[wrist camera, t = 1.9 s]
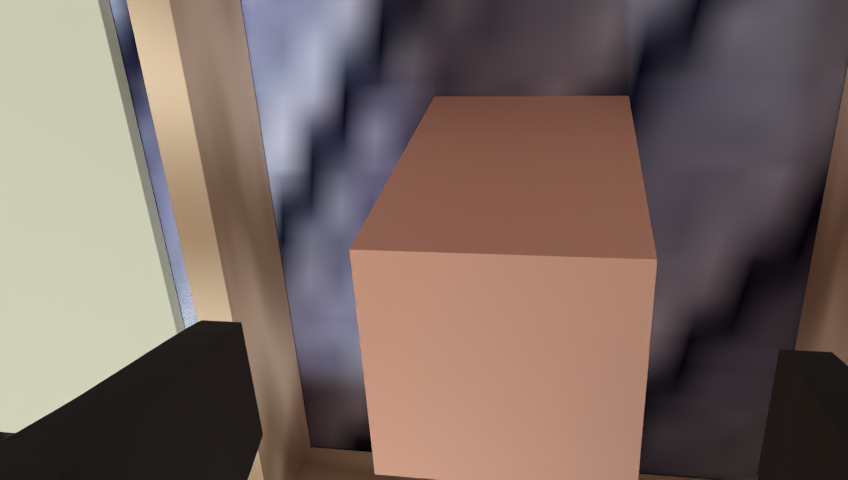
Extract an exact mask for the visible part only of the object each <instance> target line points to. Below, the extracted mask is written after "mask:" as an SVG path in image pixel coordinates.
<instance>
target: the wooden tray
mask: <svg viewBox="0 0 848 480" xmlns="http://www.w3.org/2000/svg"><path fill="white" fill-rule="evenodd" d="M127 5H128V9H129V14H130V18H131V23H132V27H133V32H134V36H135V41H136V45H137V50H138V54H139V59H140V63H141V68H142V72H143V77H144V82H145V86H146V91H147V95H148V100H149V104H150V109H151V113H152V118H153V122H154V127H155V131H156V136H157V140H158V145H159V149H160V154H161V158H162V163H163V167H164V172H165V176H166V181H167V185H168V190H169V194H170V199H171V203H172V208H173V213H174V217H175V222H176V226H177V231H178V235H179V240H180V244H181V249H182V253H183V258H184V262H185V267H186V271H187V276H188V280H189V285H190V289H191V294H192V298H193V303H194V307H195V312H196V316H197V321H198V322H199V321H201V320H207V321H227V322H241V323H242V328H243V333H244V338H245V344H246V349H247V354H248V359H249V364H250V369H251V374H252V380H253V385H254V390H255V395H256V400H257V405H258V411H259V416H260V421H261V426H262V431H263V436H262V439H261V442H260V445H259V448H258V451H257V454H256V457H255V460H254V463H253V466H252V469H251V472H250V474H249V477H248V480H436V479H424V478H412V477H401V476H389V475H377V474H375V472H374V463H373V454H372V452H364V451H352V450H339V449H327V448H315V447H311V445H310V438H309V432H308V426H307V419H306V413H305V407H304V400H303V394H302V388H301V381H300V375H299V369H298V362H297V356H296V350H295V343H294V337H293V331H292V324H291V318H290V312H289V305H288V299H287V293H286V286H285V280H284V274H283V267H282V261H281V255H280V248H279V242H278V236H277V229H276V223H275V217H274V210H273V204H272V198H271V191H270V185H269V179H268V172H267V166H266V160H265V153H264V147H263V141H262V135H261V128H260V122H259V116H258V109H257V103H256V97H255V90H254V84H253V78H252V71H251V65H250V59H249V52H248V46H247V40H246V33H245V27H244V21H243V14H242V8H241V2H240V0H127ZM795 350H800V351H820V352H832V353H834V354H835V355H836V356H837V357H838V358H839V359H841V360H842V361H843V362H844V363H845V364H846V365H847V366H848V67H847V73H846V78H845V83H844V89H843V94H842V99H841V105H840V110H839V115H838V121H837V126H836V131H835V137H834V142H833V147H832V153H831V158H830V163H829V169H828V174H827V179H826V185H825V190H824V195H823V201H822V206H821V211H820V217H819V222H818V227H817V233H816V238H815V243H814V249H813V254H812V259H811V265H810V270H809V275H808V281H807V286H806V291H805V297H804V302H803V307H802V313H801V318H800V323H799V329H798V334H797V340H796V345H795ZM638 480H711V479H698V478H686V477H674V476H661V475H649V474H639V477H638Z"/></svg>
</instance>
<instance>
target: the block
mask: <svg viewBox="0 0 848 480" xmlns="http://www.w3.org/2000/svg"><path fill="white" fill-rule="evenodd" d="M349 251H350V259H351V268H352V277H353V286H354V295H355V304H356V313H357V321H358V330H359V339H360V348H361V357H362V366H363V375H364V384H365V392H366V401H367V410H368V419H369V428H370V437H371V446H372V454H373V463H374V472H375V474H377V475H389V476H401V477H412V478H424V479H436V480H638V477H639V465H640V454H641V442H642V431H643V419H644V407H645V396H646V384H647V373H648V361H649V350H650V338H651V327H652V315H653V304H654V292H655V281H656V269H657V255H656V249H655V243H654V238H653V232H652V226H651V220H650V215H649V209H648V203H647V198H646V192H645V186H644V180H643V175H642V169H641V163H640V157H639V152H638V146H637V140H636V135H635V129H634V123H633V117H632V112H631V106H630V100H629V96H434V98H433V100H432V102H431V104H430V105H429V107H428V109H427V111H426V113H425V114H424V116H423V118H422V120H421V122H420V123H419V125H418V127H417V129H416V131H415V132H414V134H413V136H412V138H411V140H410V141H409V143H408V145H407V147H406V149H405V150H404V152H403V154H402V156H401V158H400V159H399V161H398V163H397V165H396V167H395V168H394V170H393V172H392V174H391V176H390V177H389V179H388V181H387V183H386V185H385V186H384V188H383V190H382V192H381V194H380V195H379V197H378V199H377V201H376V203H375V204H374V206H373V208H372V210H371V212H370V213H369V215H368V217H367V219H366V221H365V222H364V224H363V226H362V228H361V230H360V231H359V233H358V235H357V237H356V239H355V240H354V242H353V244H352V246H351V248H350V249H349Z"/></svg>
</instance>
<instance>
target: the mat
mask: <svg viewBox="0 0 848 480" xmlns="http://www.w3.org/2000/svg"><path fill="white" fill-rule="evenodd" d="M183 330H185V328H184V324H183V319H182V315H181V311H180V306H179V302H178V298H177V293H176V289H175V285H174V280H173V276H172V272H171V267H170V263H169V259H168V254H167V250H166V246H165V241H164V237H163V233H162V228H161V224H160V220H159V215H158V211H157V207H156V202H155V198H154V194H153V189H152V185H151V181H150V176H149V172H148V168H147V164H146V159H145V155H144V151H143V146H142V142H141V138H140V133H139V129H138V125H137V120H136V116H135V112H134V107H133V103H132V99H131V94H130V90H129V86H128V81H127V77H126V73H125V68H124V64H123V60H122V55H121V51H120V47H119V42H118V38H117V34H116V29H115V25H114V21H113V17H112V12H111V8H110V4H109V0H0V432H10V433H17V432H19V431H20V430H22V429H24V428H25V427H27V426H29V425H30V424H32V423H34V422H36V421H37V420H39V419H41V418H42V417H44V416H46V415H48V414H49V413H51V412H53V411H54V410H56V409H58V408H60V407H61V406H63V405H65V404H66V403H68V402H70V401H71V400H73V399H75V398H76V397H78V396H80V395H81V394H83V393H85V392H86V391H88V390H89V389H91V388H92V387H94V386H96V385H97V384H99V383H100V382H102V381H103V380H105V379H107V378H108V377H110V376H111V375H113V374H115V373H116V372H118V371H119V370H121V369H122V368H124V367H126V366H127V365H129V364H130V363H132V362H133V361H135V360H137V359H138V358H140V357H141V356H143V355H144V354H146V353H147V352H149V351H151V350H152V349H154V348H155V347H157V346H158V345H160V344H162V343H163V342H165V341H166V340H168V339H170V338H171V337H173V336H175V335H176V334H178V333H180V332H181V331H183Z"/></svg>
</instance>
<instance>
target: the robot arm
mask: <svg viewBox="0 0 848 480" xmlns="http://www.w3.org/2000/svg"><path fill="white" fill-rule="evenodd" d="M262 436H263V431H262V426H261V421H260V416H259V411H258V405H257V400H256V395H255V390H254V385H253V380H252V374H251V369H250V364H249V359H248V354H247V349H246V344H245V338H244V333H243V328H242V323H241V322H227V321H207V320H201V321H199V322H197V323H196V324H194V325H192V326H190V327H188V328H186V329H185V330H183V331H181V332H180V333H178V334H176V335H175V336H173V337H171V338H170V339H168V340H166V341H165V342H163V343H162V344H160V345H158V346H157V347H155V348H154V349H152V350H151V351H149V352H147V353H146V354H144V355H143V356H141V357H140V358H138V359H137V360H135V361H133V362H132V363H130V364H129V365H127V366H126V367H124V368H122V369H121V370H119V371H118V372H116V373H115V374H113V375H111V376H110V377H108V378H107V379H105V380H103V381H102V382H100V383H99V384H97V385H96V386H94V387H92V388H91V389H89V390H88V391H86V392H85V393H83V394H81V395H80V396H78V397H76V398H75V399H73V400H71V401H70V402H68V403H66V404H65V405H63V406H61V407H60V408H58V409H56V410H54V411H53V412H51V413H49V414H48V415H46V416H44V417H42V418H41V419H39V420H37V421H36V422H34V423H32V424H30V425H29V426H27V427H25V428H24V429H22V430H20V431H19V432H17V433H15V434H13V435H12V436H10V437H8V438H7V439H5V440H3V441H1V442H0V480H248V477H249V474H250V472H251V469H252V466H253V463H254V460H255V457H256V454H257V451H258V448H259V445H260V442H261V439H262ZM758 478H759V480H848V366H847V365H846V364H845V363H844V362H843V361H842V360H841V359H839V358H838V357H837V356H836V355H835V354H834V353H832V352H820V351H800V350H779V356H778V361H777V367H776V373H775V378H774V384H773V389H772V395H771V401H770V406H769V412H768V417H767V423H766V429H765V434H764V440H763V445H762V451H761V457H760V462H759V468H758Z"/></svg>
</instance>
